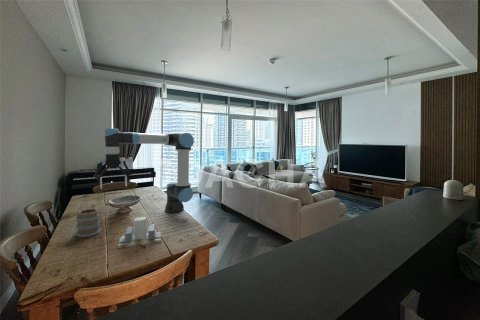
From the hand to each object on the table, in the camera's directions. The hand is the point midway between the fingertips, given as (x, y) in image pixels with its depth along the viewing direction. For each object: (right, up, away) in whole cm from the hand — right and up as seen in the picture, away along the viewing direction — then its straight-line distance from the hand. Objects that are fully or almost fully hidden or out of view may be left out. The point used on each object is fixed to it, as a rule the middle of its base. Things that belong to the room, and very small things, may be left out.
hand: (114, 187), depth 138 cm
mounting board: (+21, -30, -9) cm, 38 cm away
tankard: (-17, -29, +4) cm, 33 cm away
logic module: (+21, -28, -9) cm, 36 cm away
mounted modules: (+21, -28, -9) cm, 36 cm away
